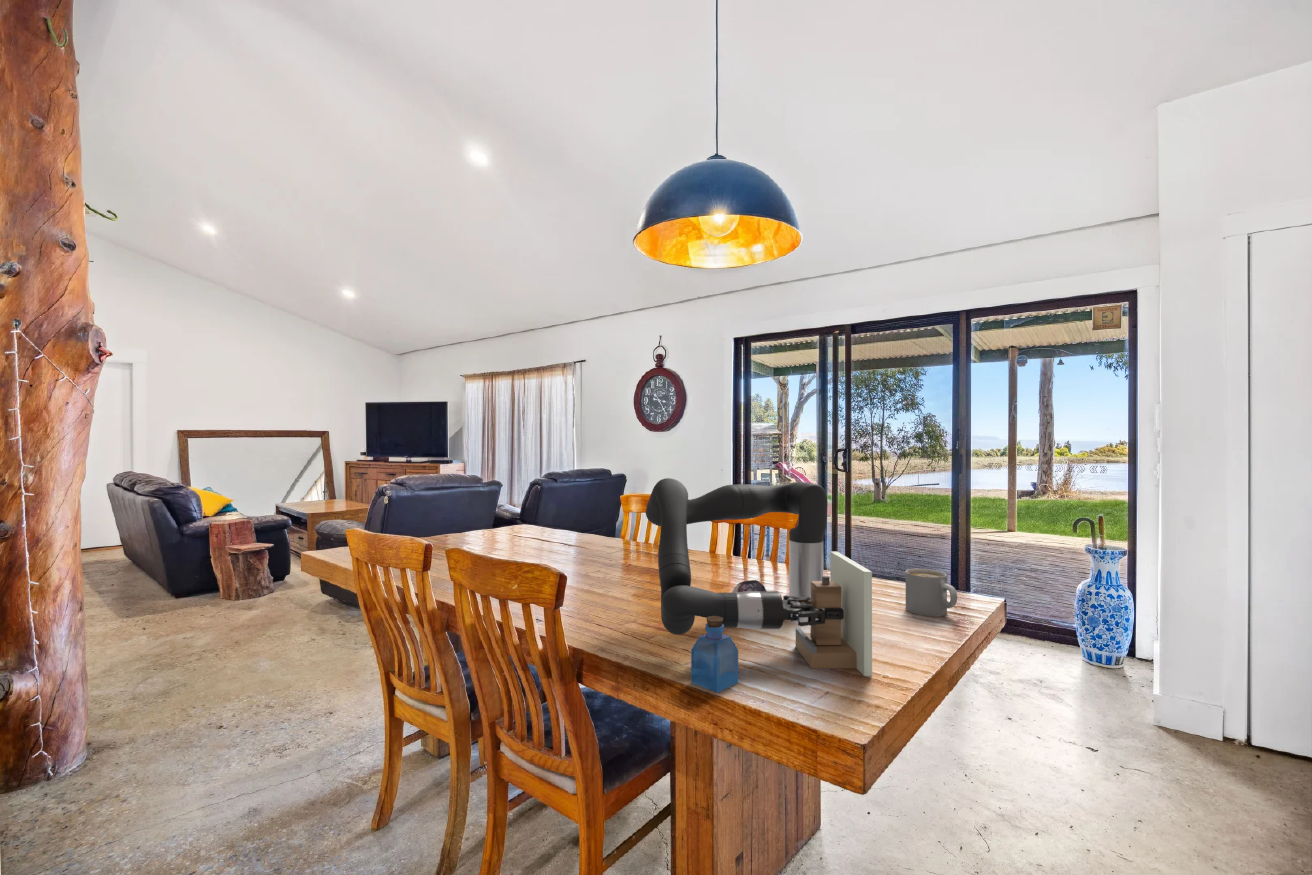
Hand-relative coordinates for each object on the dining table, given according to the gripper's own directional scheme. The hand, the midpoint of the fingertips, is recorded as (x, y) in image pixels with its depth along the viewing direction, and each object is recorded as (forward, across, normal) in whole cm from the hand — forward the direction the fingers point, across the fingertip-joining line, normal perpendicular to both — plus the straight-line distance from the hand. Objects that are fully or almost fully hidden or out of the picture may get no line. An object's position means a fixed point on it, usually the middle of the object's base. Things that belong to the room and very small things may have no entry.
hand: (838, 609), depth 122 cm
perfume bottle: (-27, -12, +10) cm, 32 cm away
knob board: (-3, 0, +6) cm, 7 cm away
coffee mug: (+35, +30, +10) cm, 47 cm away
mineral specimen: (-13, +27, +10) cm, 32 cm away
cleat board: (-2, 0, +10) cm, 10 cm away
